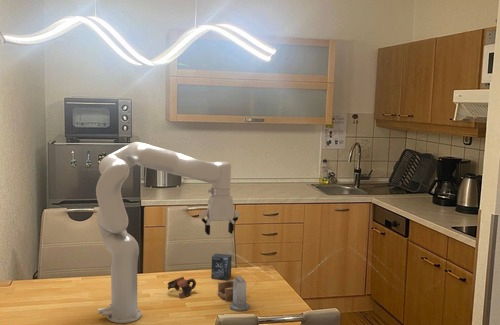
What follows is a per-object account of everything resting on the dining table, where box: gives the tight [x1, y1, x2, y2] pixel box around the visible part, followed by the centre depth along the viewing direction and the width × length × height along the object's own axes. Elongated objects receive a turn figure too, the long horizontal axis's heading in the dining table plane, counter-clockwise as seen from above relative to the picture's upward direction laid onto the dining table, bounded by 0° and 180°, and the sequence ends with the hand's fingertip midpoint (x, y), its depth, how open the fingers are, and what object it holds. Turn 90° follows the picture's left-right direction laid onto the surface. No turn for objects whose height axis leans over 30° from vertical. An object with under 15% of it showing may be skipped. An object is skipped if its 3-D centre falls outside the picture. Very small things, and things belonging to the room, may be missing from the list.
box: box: [211, 252, 233, 281], centre depth 240 cm, size 8×6×11 cm
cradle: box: [217, 279, 234, 302], centre depth 219 cm, size 9×9×5 cm
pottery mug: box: [167, 276, 197, 299], centre depth 221 cm, size 12×10×8 cm
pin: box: [232, 275, 247, 308], centre depth 207 cm, size 4×5×11 cm
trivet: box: [229, 301, 251, 312], centre depth 208 cm, size 8×8×1 cm
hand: (219, 233), depth 213 cm, fingers open, 9 cm apart
